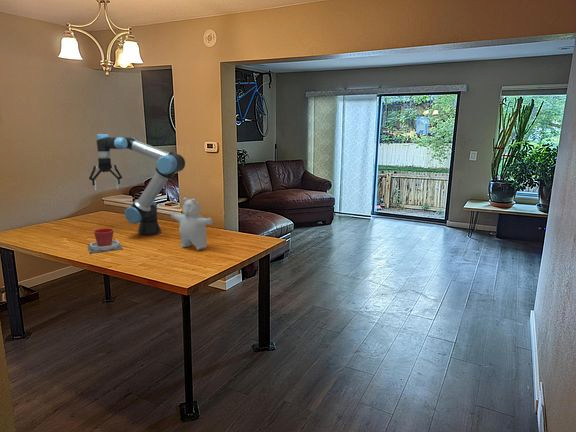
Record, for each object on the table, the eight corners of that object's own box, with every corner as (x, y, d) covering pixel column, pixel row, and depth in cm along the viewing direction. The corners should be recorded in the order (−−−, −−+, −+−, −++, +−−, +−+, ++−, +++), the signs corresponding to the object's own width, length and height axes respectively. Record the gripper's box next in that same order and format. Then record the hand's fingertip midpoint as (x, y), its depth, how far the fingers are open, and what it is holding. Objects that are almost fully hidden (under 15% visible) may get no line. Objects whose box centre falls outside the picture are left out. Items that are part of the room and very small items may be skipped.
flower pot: (118, 244, 248) (117, 229, 246) (102, 249, 238) (101, 233, 236) (107, 242, 253) (106, 227, 251) (91, 246, 243) (90, 230, 241)
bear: (163, 246, 251) (160, 196, 245) (180, 241, 263) (178, 193, 257) (205, 255, 234) (204, 202, 227) (221, 249, 246) (220, 198, 240)
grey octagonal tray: (118, 242, 258) (118, 238, 257) (123, 249, 243) (122, 245, 242) (87, 245, 249) (87, 241, 248) (90, 253, 234) (89, 249, 233)
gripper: (123, 157, 273) (125, 187, 277) (82, 157, 260) (85, 190, 265) (125, 157, 267) (127, 189, 271) (83, 158, 254) (86, 191, 258)
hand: (106, 189), depth 268 cm, fingers open, 13 cm apart
